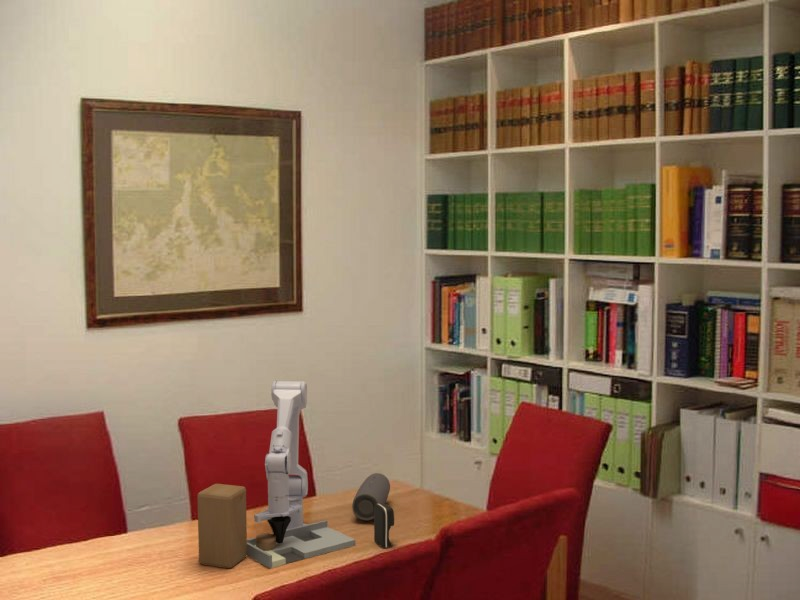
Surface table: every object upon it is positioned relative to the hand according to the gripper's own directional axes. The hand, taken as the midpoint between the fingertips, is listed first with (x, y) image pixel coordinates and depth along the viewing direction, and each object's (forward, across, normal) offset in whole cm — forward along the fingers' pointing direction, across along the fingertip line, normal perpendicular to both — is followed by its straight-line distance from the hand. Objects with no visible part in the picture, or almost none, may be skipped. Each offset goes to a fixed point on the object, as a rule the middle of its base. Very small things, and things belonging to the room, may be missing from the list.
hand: (279, 542), depth 276 cm
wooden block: (+2, -16, +2) cm, 17 cm away
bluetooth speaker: (+2, +40, +10) cm, 41 cm away
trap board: (+2, +5, -3) cm, 6 cm away
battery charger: (+2, +26, -15) cm, 30 cm away
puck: (+1, -4, 0) cm, 4 cm away
